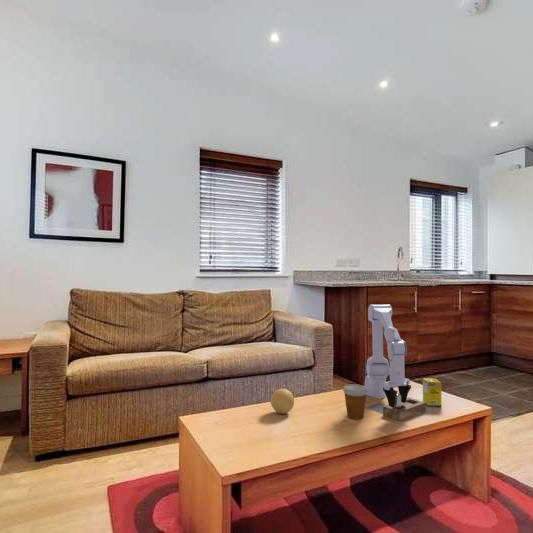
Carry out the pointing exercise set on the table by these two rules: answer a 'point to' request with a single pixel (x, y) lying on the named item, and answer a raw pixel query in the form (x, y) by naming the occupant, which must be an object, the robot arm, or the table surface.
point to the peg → (398, 401)
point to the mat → (376, 407)
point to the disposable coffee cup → (355, 400)
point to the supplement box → (432, 392)
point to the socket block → (405, 409)
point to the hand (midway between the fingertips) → (397, 404)
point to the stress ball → (282, 401)
